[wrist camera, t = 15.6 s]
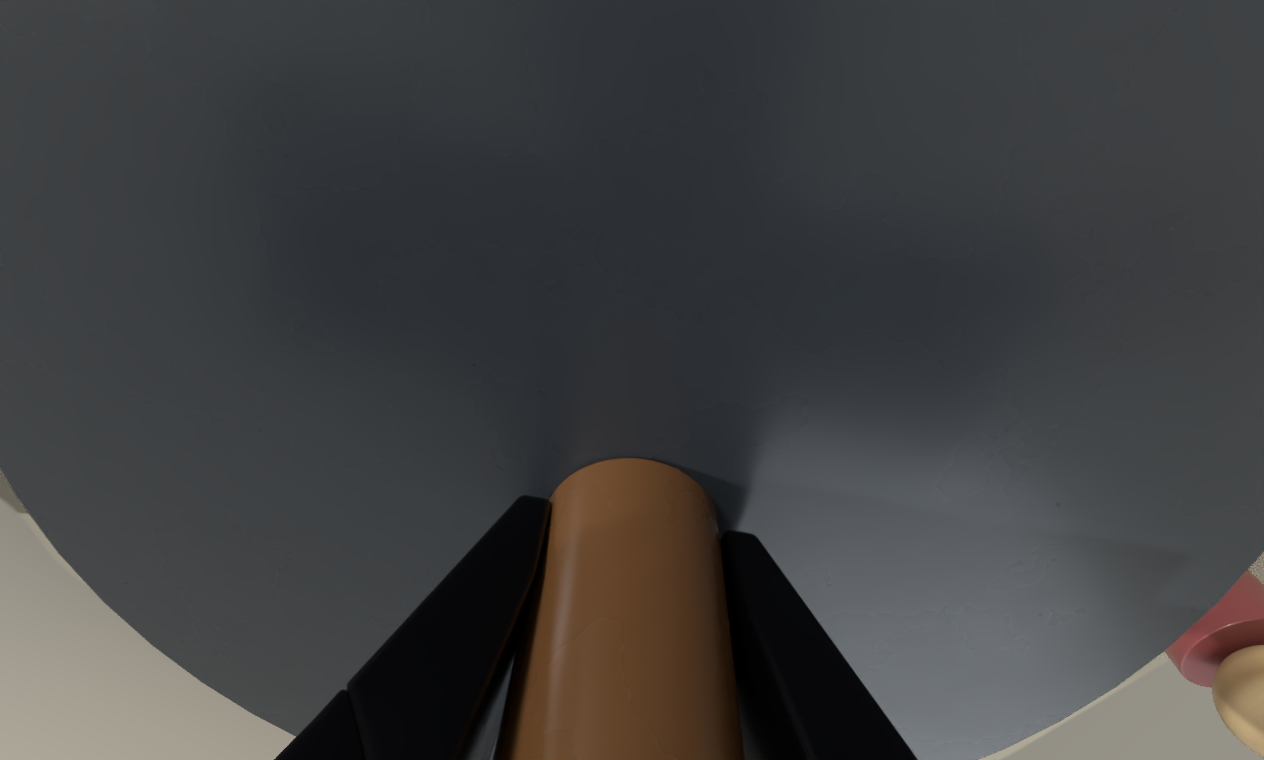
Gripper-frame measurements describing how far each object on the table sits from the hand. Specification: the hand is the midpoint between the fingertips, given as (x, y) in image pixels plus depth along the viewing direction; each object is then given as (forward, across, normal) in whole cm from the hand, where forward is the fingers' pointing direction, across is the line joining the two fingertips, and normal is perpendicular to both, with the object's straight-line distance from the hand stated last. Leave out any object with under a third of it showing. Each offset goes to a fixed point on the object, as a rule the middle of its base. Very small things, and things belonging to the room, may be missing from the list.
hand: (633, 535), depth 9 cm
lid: (+1, 0, 0) cm, 1 cm away
